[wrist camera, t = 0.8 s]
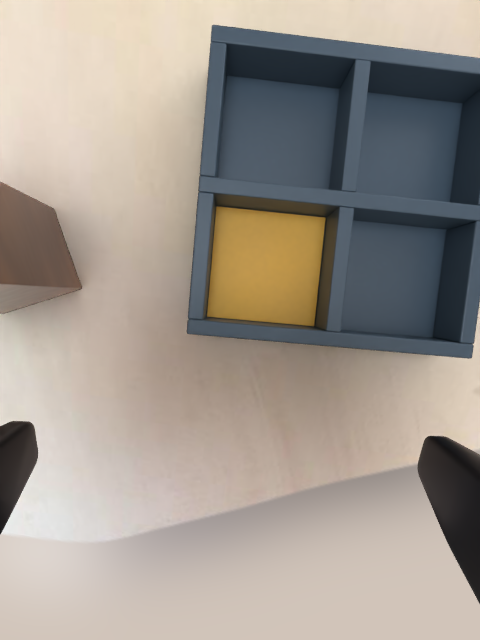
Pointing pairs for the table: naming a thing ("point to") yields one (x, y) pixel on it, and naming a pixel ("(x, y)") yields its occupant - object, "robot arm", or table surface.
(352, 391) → the table surface
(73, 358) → the table surface
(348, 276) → the grid
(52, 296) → the block
